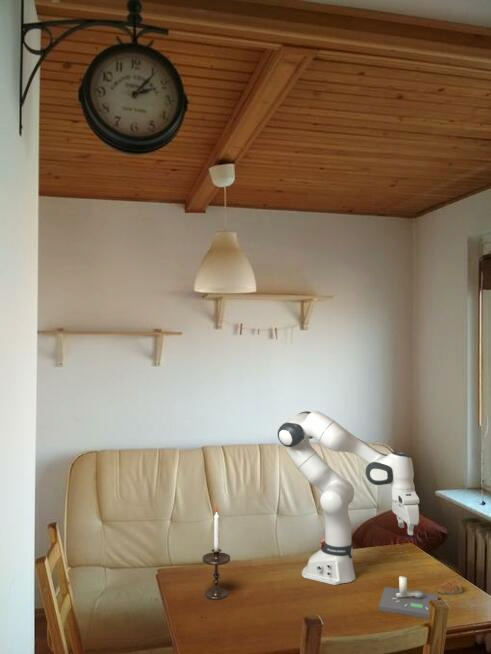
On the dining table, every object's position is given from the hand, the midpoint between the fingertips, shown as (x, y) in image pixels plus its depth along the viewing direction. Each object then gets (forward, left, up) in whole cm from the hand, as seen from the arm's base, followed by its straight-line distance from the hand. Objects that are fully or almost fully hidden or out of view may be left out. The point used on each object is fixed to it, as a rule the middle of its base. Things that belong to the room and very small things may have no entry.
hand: (405, 530), depth 210 cm
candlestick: (-70, -23, -26) cm, 78 cm away
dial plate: (+1, -4, -26) cm, 26 cm away
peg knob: (+1, -1, -24) cm, 24 cm away
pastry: (+15, +14, -26) cm, 34 cm away
